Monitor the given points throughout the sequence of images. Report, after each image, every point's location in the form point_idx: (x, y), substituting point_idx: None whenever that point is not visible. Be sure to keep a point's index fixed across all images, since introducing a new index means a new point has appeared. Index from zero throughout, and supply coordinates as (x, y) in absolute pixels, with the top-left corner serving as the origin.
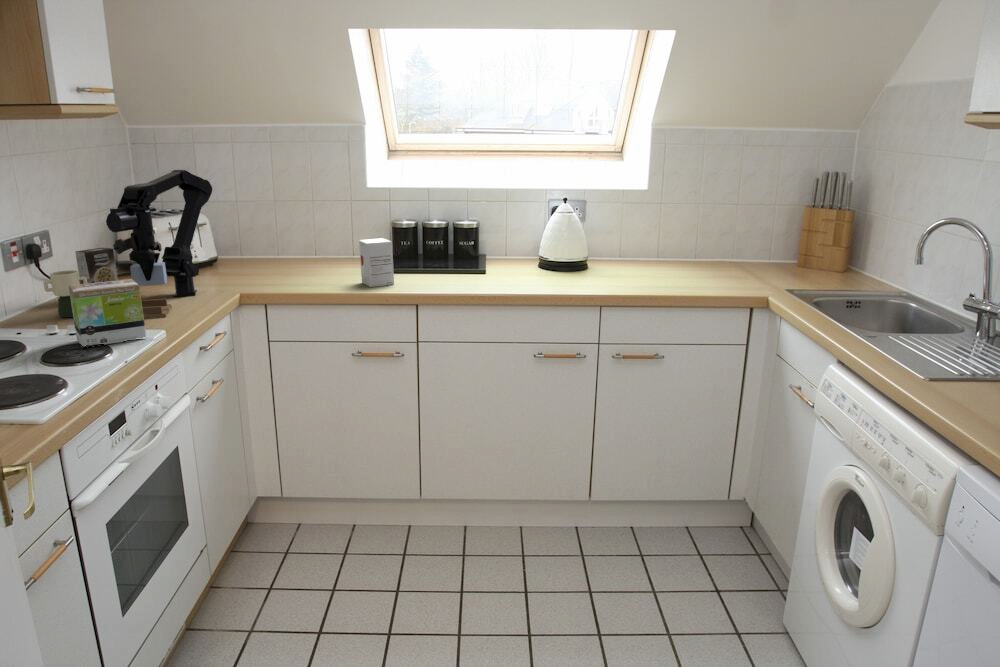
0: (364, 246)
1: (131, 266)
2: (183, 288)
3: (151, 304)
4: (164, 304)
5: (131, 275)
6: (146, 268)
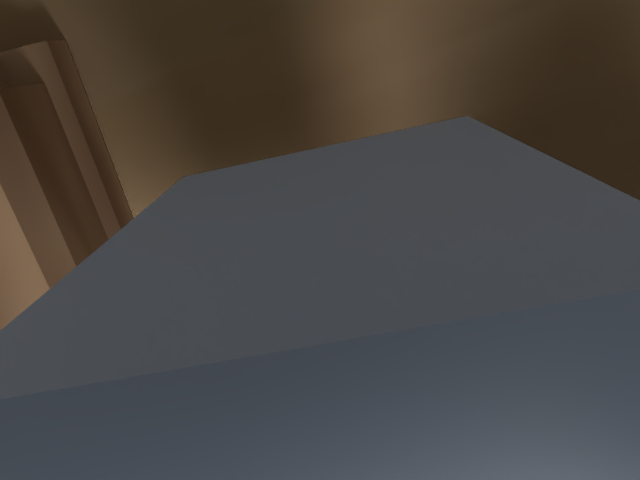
0: None
1: (3, 440)
2: None
3: None
4: None
5: (94, 254)
6: None
